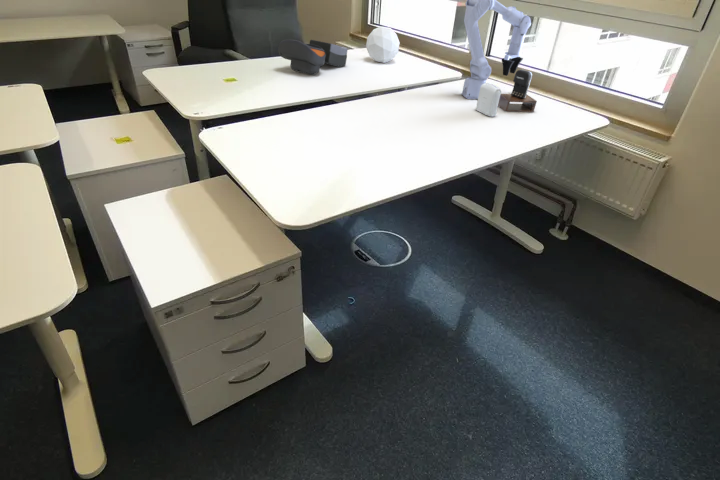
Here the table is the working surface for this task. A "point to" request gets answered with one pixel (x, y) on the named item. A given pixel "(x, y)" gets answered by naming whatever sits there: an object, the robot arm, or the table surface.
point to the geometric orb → (382, 44)
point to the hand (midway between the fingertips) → (508, 74)
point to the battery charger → (521, 83)
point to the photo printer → (488, 99)
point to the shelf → (526, 106)
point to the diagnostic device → (312, 55)
